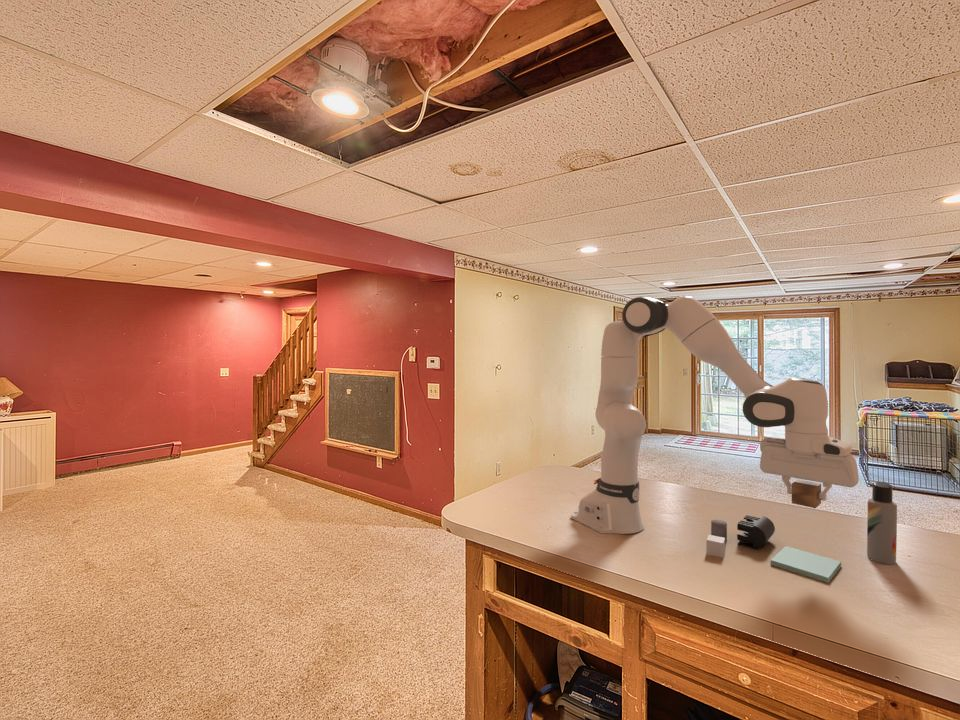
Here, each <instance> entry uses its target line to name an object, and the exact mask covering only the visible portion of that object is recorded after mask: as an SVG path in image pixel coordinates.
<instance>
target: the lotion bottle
mask: <svg viewBox="0 0 960 720" xmlns="http://www.w3.org/2000/svg"><path fill="white" fill-rule="evenodd" d="M871 495H872V496H871V498H869V499H868V500H867V527H866V530H867V531H866V534H867V535H866V546H867V547H866V556H867V558H868V559H870V560H871V561H873V562H876V563H879V564H884V565H894V564H896V562H897V533H898V532H897V531H898V530H897V529H898V528H897V527H898V505H897V503H896V502H893V485H892V484H890V483H889V482H885V481H874V482H872V494H871Z"/></svg>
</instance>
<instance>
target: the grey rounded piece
mask: <svg viewBox="0 0 960 720" xmlns="http://www.w3.org/2000/svg"><path fill="white" fill-rule="evenodd" d="M710 521H711V523H710V525H711V526H710V527H711V528H710V532H711V533H710V535H713V536H718V537H723V538H725V543H727V541H728V533H727V532H728V523H727V522H726V521H724V520H721V519H713V520H710Z"/></svg>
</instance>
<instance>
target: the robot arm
mask: <svg viewBox="0 0 960 720" xmlns="http://www.w3.org/2000/svg"><path fill="white" fill-rule="evenodd" d="M621 314H622V315H621V316H622V317H621V318H622V320H615V321H611V322H610V323H608V324H607V325H606V326H605V328H604V331H603V336H602V340H601V341H602V342H601V352H600V353H601V354H600V356H601V358H600V385H599V391H598V397H597V405H596V409H595V412H594V413H595V419H596V422H597V424H598V425H599V427H600V428H601V429H603V430H604V443H603V447H602V451H601V454H600V477H599V478H597V479H596V480H593V485H596V484H597V485H596V486H595V487H596V488H594V489H593V490H592V491H590V492H589V493H587V494H586V495H584V496H582V498H581V499H580V501H579V504H578V509H576V510H574V511H573V512H572V513H571V519H572V520H574V521H576V522H578V523H580V524H582V525H585V526H587V527H588V528H590V529H592V530H594V531H597V532H598V533H600V534H604V535H605V534H621V535H622V534H623V535H625V534H626V535H627V534H636V533H639V532H641V531H643V530H644V524H643V520H642V517H641V516H642V515H641V510H640V504H639V502H640V501H639V500H640V481H639V470H638V469H639V468H638V467H639V466H638V465H639V462H638V461H639V451H640V447H641V443H642V437H643V435H644V434H645V432H646V429H647V420H646V418H645V416H644V414H643V413H642V412H641V410H640V409H639V408H637V407H636V406H635V405H633V400H634V395H635V390H636V387H637V385H638V383H639V347H640V346H639V345H640V341H641V339H643V338H646V337H647V338H648V337H650V336H654V335H657V334H659V333H662V332H663V331H665V330H668V331H671V332H672V333H673V334H674V336H676V337H677V339H678V340H679V341H680V343H682V345H683V346H684V347H685V348H686V349H687V351H689V352H690V353H691V354H692V355H693V356H694V357H695V358H697V360H699V361H701V362H704V363H707V364H709V365H711V366H714V367H716V368H717V369H719V370H721V372H723V373H724V374H725V375H726V376H727V378H729V380H730V381H732V383H733V384H734V385H735V386H736V387H737V389H738V390H739V391H740V392H741V393H742V394H743V396H744V398H745V399H744V400H743V403H742V412H743V416H744V417H745V420H747V421H748V422H749V423H750V424H752V425H753V426H755V427H758V428H759V427H760V428H772V427H773V428H774V427H782V426H783V427H784V432H785V433H784V439H782V438H772V437H765V438H764V439H762V440H761V441H760V443H759V449H760V452H761V455H760V460H759V468H760V470H761V472H762V473H763V474H764V473H765V474H770V475H777V476H781V481H782V482H783V484H784V485H785V487H786V493H787V494H788V495H792V483H791V481H790V480H791V478H794V479H798V480H803V481H809V482H815V483H821V484H822V487H823V488H824V489H823V490H821V491H819V492H818V493H817V496H818V497H817V499H818V500H821V501H826V500H827V493H828V492H829V490H831V488H832V487H833V485H834V486H840V487H844V488H845V487H846V488H854V487H855V486H857V485H858V483H859V480H860V479H859V469H858V464H857V460H856V458H855V457H854V456H853V455H852V454H851V453H852V452H853V451H852V450H853V446H852V444H851V443H848V442H846V441H843V440H840V439H838V438H835V437H832V436H830V435H829V429H828V427H827V420H828V416H829V405H828V402H829V401H828V395H827V394H828V393H827V390H826V387H825V386H824V385H823V384H822V383H821V382H819V381H817V380H814V379H810V378H805V377H794V376H793V377H789V378H787V379H785V381H783V382H780V383H778V384H776V385H772V384H770V383H768V382H767V381H765V380H764V379H763V378H762V377H761V375H759V374H758V372H756V371H755V369H754V368H753V367H752V366H751V365H750V364H749V363H748V361H746V359H745V358H744V357H743V356H742V354H741V353H740V352H739V350H738V348H737V347H736V345H735V343H734V342H733V340H732V337H731V336H730V335H729V333H728V331H727V330H726V328H725V327H724V326H723V325H722V323H721V321H720V320H718V318H717V317H716V316H715V315H714V314H713V313H712V312H711V311H710V310H709V309H708V308H707V307H706V306H705V305H704V304H703V303H702V302H700V301H699V300H698V299H696V298H694V297H693V296H689V295H684V296H680V297H678V298H675V299H674V300H673V301H671V302H669V303H666V302H665V301H664V300H661V299H659V298H656V297H653V296H644V295H643V296H636V297H634V298H632V299H630V300H628V301H627V302H626V304H625V305H624V307H623V309H622V313H621Z"/></svg>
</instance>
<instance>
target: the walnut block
mask: <svg viewBox="0 0 960 720" xmlns="http://www.w3.org/2000/svg"><path fill="white" fill-rule="evenodd" d="M791 485H792V494H791V504H793V505H799V506H802V507H807V508H811V509H817V507H819V506H820V505H821V504H822V500H818V499H817V497H818V496H817V493H818V492H819V491H822V483H821V482H816V481H810V480H804V479H796V480H794V481H793V482H792V483H791Z"/></svg>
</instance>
